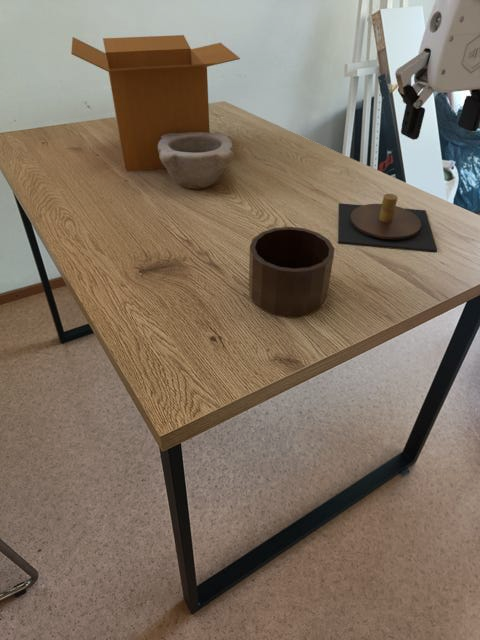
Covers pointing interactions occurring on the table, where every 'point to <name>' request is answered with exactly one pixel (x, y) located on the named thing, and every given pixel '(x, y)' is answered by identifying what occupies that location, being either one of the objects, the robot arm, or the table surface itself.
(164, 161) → the mortar
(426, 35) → the robot arm
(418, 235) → the mat
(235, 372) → the table surface
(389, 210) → the tin lid
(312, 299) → the tin
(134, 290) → the table surface
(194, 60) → the box
